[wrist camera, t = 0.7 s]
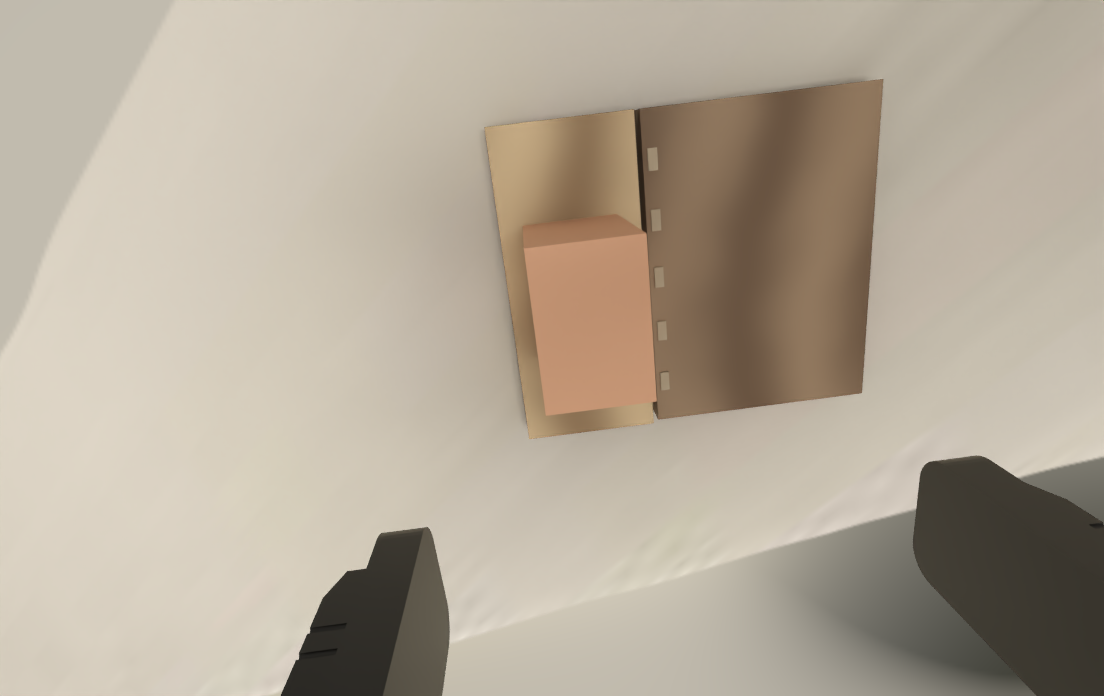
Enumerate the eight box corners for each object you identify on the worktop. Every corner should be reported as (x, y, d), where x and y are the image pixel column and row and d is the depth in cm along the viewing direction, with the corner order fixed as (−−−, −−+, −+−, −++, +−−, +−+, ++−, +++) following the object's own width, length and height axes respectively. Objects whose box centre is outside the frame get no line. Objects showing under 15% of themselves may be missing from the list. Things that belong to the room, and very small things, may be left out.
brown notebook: (866, 82, 25) (884, 78, 23) (848, 383, 29) (863, 393, 28) (634, 110, 24) (640, 108, 23) (652, 408, 29) (658, 420, 28)
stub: (628, 111, 24) (671, 95, 17) (648, 412, 29) (688, 493, 22) (485, 128, 24) (473, 120, 17) (528, 427, 29) (531, 514, 22)
